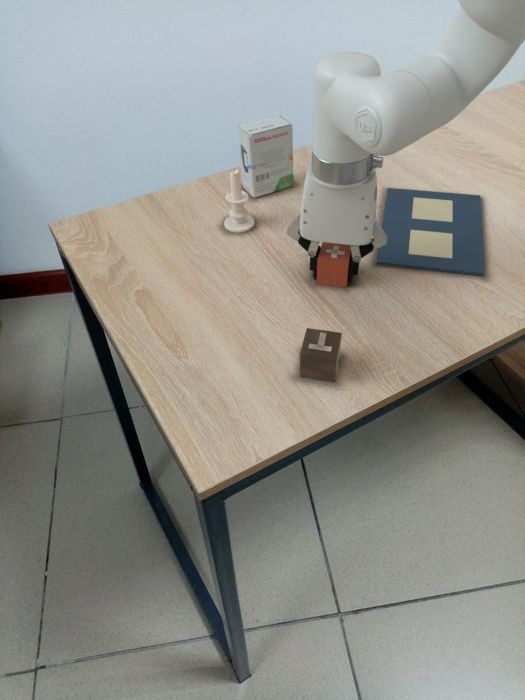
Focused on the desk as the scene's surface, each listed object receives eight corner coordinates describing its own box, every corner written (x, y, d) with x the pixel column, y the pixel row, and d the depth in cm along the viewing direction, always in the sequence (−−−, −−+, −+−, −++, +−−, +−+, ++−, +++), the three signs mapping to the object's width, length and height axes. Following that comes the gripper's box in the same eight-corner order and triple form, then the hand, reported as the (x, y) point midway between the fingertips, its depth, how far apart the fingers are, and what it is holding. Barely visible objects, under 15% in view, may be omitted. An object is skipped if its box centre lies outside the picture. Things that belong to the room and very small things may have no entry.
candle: (219, 229, 91) (212, 173, 83) (232, 213, 94) (227, 158, 86) (246, 235, 89) (241, 179, 82) (259, 219, 92) (256, 163, 85)
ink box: (253, 199, 97) (249, 136, 88) (241, 186, 100) (236, 124, 92) (294, 186, 99) (294, 123, 91) (281, 174, 102) (280, 112, 94)
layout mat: (479, 198, 94) (480, 194, 93) (483, 276, 79) (485, 272, 79) (387, 190, 97) (388, 187, 96) (375, 264, 82) (376, 260, 82)
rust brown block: (350, 268, 82) (352, 244, 79) (346, 287, 79) (348, 262, 76) (321, 265, 83) (322, 241, 79) (316, 283, 80) (317, 259, 77)
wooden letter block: (339, 356, 70) (342, 332, 66) (334, 382, 67) (336, 358, 63) (306, 351, 71) (306, 327, 67) (299, 377, 68) (299, 352, 64)
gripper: (410, 153, 68) (391, 266, 82) (282, 145, 72) (284, 254, 85) (407, 183, 63) (387, 298, 77) (269, 172, 67) (274, 284, 80)
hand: (333, 274), depth 81 cm, fingers closed on rust brown block, 4 cm apart
